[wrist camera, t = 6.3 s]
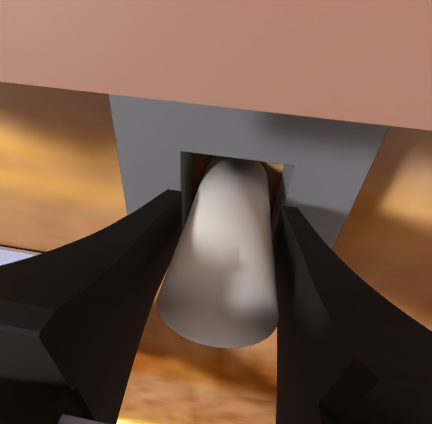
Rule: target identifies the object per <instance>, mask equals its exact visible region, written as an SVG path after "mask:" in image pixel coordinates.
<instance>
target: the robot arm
mask: <svg viewBox="0 0 432 424" xmlns="http://www.w3.org/2000/svg"><path fill="white" fill-rule="evenodd" d="M181 232H182V191H177V190H170V189H167V190H166V191H164V192H163V193H161V194H160V195H158V196H157V197H155V198H154V199H152V200H151V201H149V202H148V203H146V204H145V205H143V206H142V207H140V208H139V209H137V210H136V211H134V212H132V213H131V214H129V215H127V216H126V217H124V218H122V219H121V220H119V221H117V222H116V223H114V224H112V225H110V226H108V227H106V228H104V229H102V230H100V231H98V232H96V233H94V234H91V235H89V236H87V237H85V238H82V239H80V240H77V241H75V242H72V243H70V244H67V245H64V246H62V247H59V248H57V249H54V250H51V251H48V252H45V253H38V252H32V251H26V250H20V249H14V248H8V247H2V246H0V424H116V423H117V419H118V415H119V411H120V408H121V404H122V401H123V397H124V393H125V390H126V386H127V383H128V379H129V376H130V372H131V369H132V366H133V362H134V359H135V356H136V352H137V349H138V346H139V343H140V340H141V336H142V333H143V330H144V327H145V324H146V321H147V318H148V315H149V312H150V309H151V306H152V303H153V300H154V298H155V296H156V293H157V291H158V289H159V286H160V284H161V282H162V280H163V278H164V275H165V273H166V271H167V269H168V267H169V264H170V262H171V260H172V257H173V255H174V252H175V250H176V247H177V244H178V242H179V239H180V235H181ZM272 241H273V253H274V266H275V279H276V291H277V304H278V324H277V407H276V424H432V331H430V330H429V329H427V328H426V327H424V326H423V325H421V324H420V323H419V322H417V321H416V320H414V319H413V318H411V317H410V316H408V315H407V314H406V313H404V312H403V311H401V310H400V309H399V308H397V307H396V306H395V305H393V304H392V303H391V302H389V301H388V300H387V299H385V298H384V297H383V296H382V295H380V294H379V293H378V292H377V291H375V290H374V289H373V288H372V287H370V286H369V285H368V284H367V283H366V282H364V281H363V280H362V279H361V278H360V277H359V276H358V275H357V274H356V273H354V272H353V271H352V270H351V269H350V268H349V267H348V266H347V265H346V264H345V263H344V262H343V261H342V260H341V259H340V258H339V257H338V256H337V255H336V254H335V253H334V252H333V251H332V250H331V249H330V247H329V246H328V245H327V244H326V243H325V242H324V241H323V239H322V238H321V237H320V236H319V235H318V233H317V232H316V231H315V230H314V228H313V227H312V226H311V225H310V223H309V222H308V221H307V219H306V218H305V217H304V215H303V214H302V213H301V211H300V210H299V209H298V208H297V207H292V206H285V205H282V206H281V210H280V214H279V217H278V221H277V225H276V228H275V232H274V236H273V240H272Z"/></svg>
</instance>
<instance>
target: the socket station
mask: <svg viewBox="0 0 432 424" xmlns="http://www.w3.org/2000/svg"><path fill="white" fill-rule="evenodd" d="M0 82H8V83H16V84H25V85H34V86H43V87H52V88H60V89H69V90H78V91H87V92H96V93H105V94H109V101H110V107H111V113H112V120H113V126H114V132H115V139H116V145H117V152H118V158H119V164H120V171H121V177H122V184H123V190H124V196H125V203H126V209H127V215H129V214H131V213H132V212H134V211H136V210H137V209H139V208H140V207H142V206H143V205H145V204H146V203H148V202H149V201H151V200H152V199H154V198H155V197H157V196H158V195H160V194H161V193H163V192H164V191H166V190H167V189H170V190H177V191H182V231H183V228H184V226H185V223H186V220H187V218H188V215H189V212H190V210H191V207H192V176H193V153H200V154H208V155H216V156H224V157H231V158H239V159H247V160H255V161H263V162H270V163H278V164H284V168H283V172H282V176H281V180H280V184H279V188H278V192H277V196H276V200H275V204H274V208H273V212H272V216H271V228H272V240H273V236H274V232H275V228H276V225H277V221H278V217H279V214H280V210H281V206H282V205H285V206H292V207H297V208H298V209H299V210H300V211H301V213H302V214H303V215H304V217H305V218H306V219H307V221H308V222H309V223H310V225H311V226H312V227H313V228H314V230H315V231H316V232H317V233H318V235H319V236H320V237H321V238H322V239H323V241H324V242H325V243H326V244H327V245H328V246H329V247H330V249H331V250H332V249H333V247H334V245H335V242H336V240H337V238H338V236H339V234H340V232H341V230H342V227H343V225H344V223H345V221H346V219H347V217H348V214H349V212H350V210H351V208H352V206H353V204H354V201H355V199H356V197H357V195H358V193H359V191H360V189H361V186H362V184H363V182H364V180H365V178H366V176H367V173H368V171H369V169H370V167H371V165H372V163H373V160H374V158H375V156H376V154H377V152H378V150H379V147H380V145H381V143H382V141H383V139H384V137H385V135H386V132H387V130H388V128H389V126H396V127H405V128H413V129H422V130H431V131H432V0H0ZM181 234H182V232H181ZM180 236H181V235H180Z"/></svg>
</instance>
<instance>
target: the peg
mask: <svg viewBox="0 0 432 424" xmlns="http://www.w3.org/2000/svg"><path fill="white" fill-rule="evenodd" d="M157 310H158V313H159V315H160V317H161V319H162V320H163V322H164V323H165V324H166V325H167V326H168V327H169V328H170V329H171V330H173V331H174V332H175V333H177V334H179V335H180V336H182V337H184V338H186V339H188V340H190V341H193V342H196V343H199V344H202V345H206V346H211V347H218V348H240V347H246V346H250V345H254V344H256V343H259V342H261V341H263V340H265V339H266V338H268V337H269V336H270V335H271V334H272V333H273V332H274V330H275V329H276V327H277V324H278V304H277V291H276V279H275V266H274V253H273V241H272V228H271V215H270V203H269V190H268V178H267V173H266V170H265V168H264V167H263V165H262V164H261V163H260V162H259V161H255V160H247V159H239V158H231V157H224V156H217V157H215V158H214V159H213V160H212V161H211V162H210V163H209V164H208V166H207V167H206V170H205V172H204V175H203V178H202V180H201V183H200V186H199V188H198V191H197V194H196V196H195V199H194V202H193V204H192V207H191V210H190V212H189V215H188V218H187V220H186V223H185V226H184V228H183V231H182V234H181V236H180V239H179V242H178V244H177V247H176V250H175V252H174V255H173V257H172V260H171V263H170V265H169V268H168V271H167V273H166V276H165V279H164V281H163V284H162V287H161V289H160V292H159V295H158V297H157Z"/></svg>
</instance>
